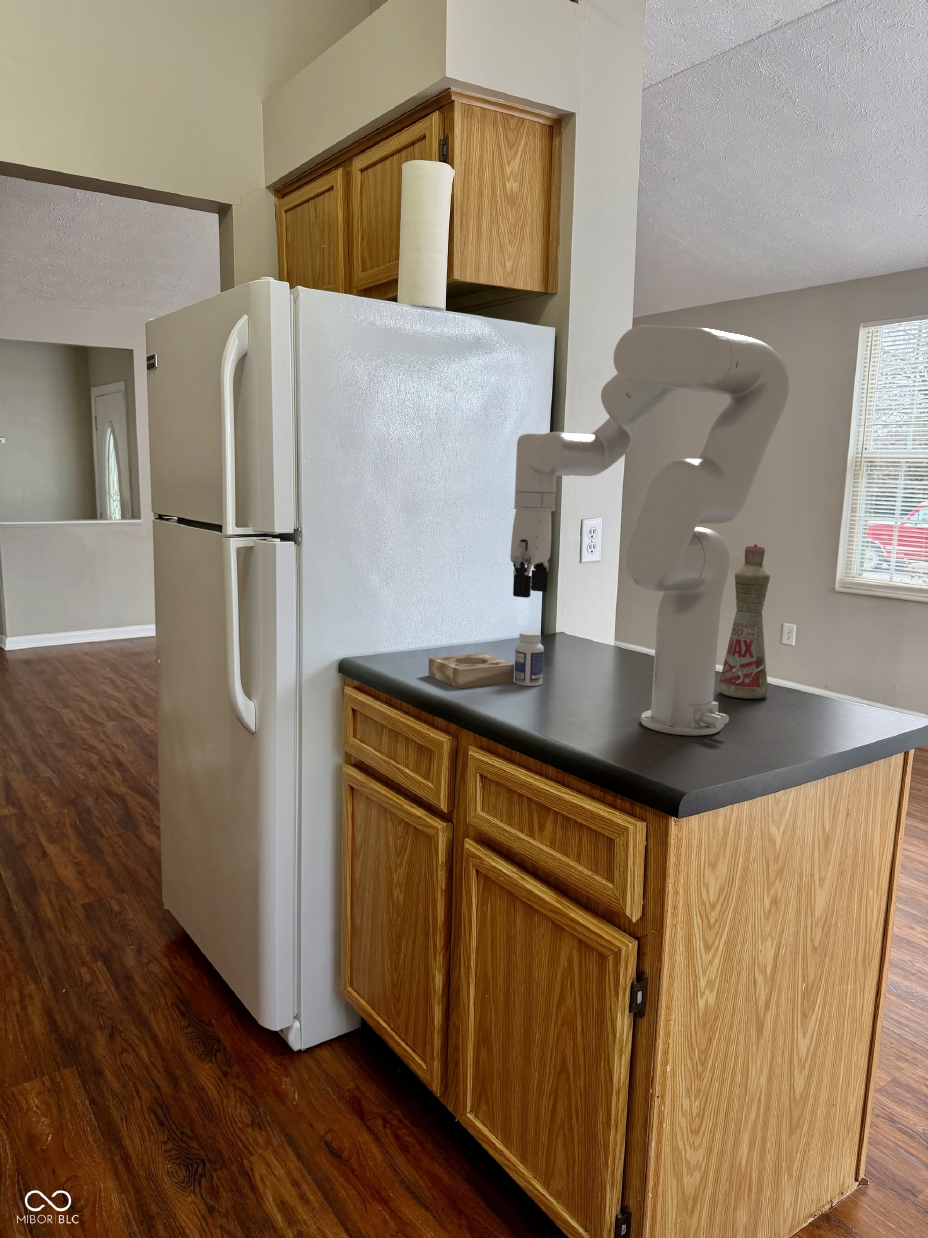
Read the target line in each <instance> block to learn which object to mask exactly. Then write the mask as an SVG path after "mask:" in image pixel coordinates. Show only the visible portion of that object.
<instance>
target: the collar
mask: <svg viewBox="0 0 928 1238" xmlns="http://www.w3.org/2000/svg"><path fill="white" fill-rule="evenodd" d="M427 670H428V676H429V677H432V678H433V679H437V680H439V681H441V682H444V683H446V684H449V685H450V686H454V687H456V688H457V689H458V688H459V689H465V688H474V687H483V686H489V685H490V686H491V685H499V684H511V683H515V681H514V680H515V678H514V677H515V663H513V662H509V661H506V660H504V659H500V658H498V657H494V656H491V655H488V654H485V653H481V652H477V653H465V654H454V655H442V656H434V657H428V669H427Z"/></svg>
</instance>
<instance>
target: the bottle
mask: <svg viewBox="0 0 928 1238" xmlns="http://www.w3.org/2000/svg"><path fill="white" fill-rule="evenodd" d="M765 553H766V549H765V547H764V546H758V544H757V543H754V544H753V545H747V546H746V547H745V548H744V564H742V565H741V566H740V567H739V568H738V569H737V570H736V571H735V573H734V582H735V583H734V584H735V587H734V588H735V600H736V601H735V603H736V611H735V614H734V619H733V623H732V628H731V632H730V637H729V641H728V645H727V648H726V653H725V657H724V661H723V664H722V665H723V666H722V671H721V674H720V677H719V678H720V679H719V683H718V688H719V691H720V692H721V694H722V695H723V696H727V697H732V698H738V699H745V700H751V699H752V700H755V699H756V700H760V699H764V698H766V697H767V696H768V693H769V682H768V676H767V675H768V674H767V663H766V650H765V649H766V648H765V636H764V635H765V634H764V622H763V621H764V619H763V611H764V610H763V609H764V605H765V601H766V596H767V592H768V588H769V586H768V585H769V584H770V580H771V574H770V572H769V571H768V570H767V569H766V568H765V567H764V566H765V565H764V559H765Z"/></svg>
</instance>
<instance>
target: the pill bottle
mask: <svg viewBox="0 0 928 1238" xmlns="http://www.w3.org/2000/svg"><path fill="white" fill-rule="evenodd" d="M541 634H542V633H540V632H537V631H521V632H519V638H518V639H519V641H520V642H519V643H517V644H516V645H515V647H514V649H515V650H514V654H515V655H514V684H517V685H518V686H522V687H523V686H524V687H536V686H537V687H538V686H541V685H542V684H543V680H544V679H543V676H544V652H545V651H544V650H545V649H544V645H542V644H541V643H540V641H541V636H542V635H541Z"/></svg>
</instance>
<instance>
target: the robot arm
mask: <svg viewBox="0 0 928 1238" xmlns="http://www.w3.org/2000/svg"><path fill="white" fill-rule="evenodd" d="M613 366H614V369H615V370H616V374H615V375H614V376H612V378H610V379H609V380H608V381H607V382H606V383H605V384H604V386H603V387H602V388H601V389H602V390H601V391H600V392H601V393H600V399H601V404H602V407H603V408H604V410H605V412H606V413H607V415H608V416H609V417H608V418H607V420H606V421H604V422H603V423H602V424H601V425H600V426H599V427H597V429H595V430H594V431H593V432H592V433H585V432H569V431H568V432H567V431H552V432H547V433H525V434H524V433H523V434H521V435H520V436H519V437H518V438H517V442H516V459H515V461H516V462H515V480H514V481H515V485H514V507H513V508H514V510H515V511H514V512H515V513H514V518H513V524H512V532H511V541H510V543H511V544H510V545H511V546H510V554H509V556H510V557H509V558H510V560H509V561H511V563H512V566H513V584H512V585H513V586H512V589H513V590H512V596H513V597H515V598H525V599H526V598H527V599H528V598H530V597H531V592H542V593H543V592H544V593H547V591H548V588H549V586H548V584H549V583H548V582H549V570H550V564H549V561H550V558H551V551H552V550H551V548H552V512H555V511H556V496H557V495H556V492H557V477H558V476H567V477H568V476H577V477H592V476H593V477H594V476H596V475H599V474H601V473H603V472H605V471H607V470H608V469H610V467H612V466H613V465H614V464H615V463H616V462H618V461H619V460H620V459H621V458H623V457H624V456H625V455H626V454H627V453H628V452H629V450H630V449H631V448H632V445H633V444H634V442H635V439H636V437H637V435H638V431H639V424H640V423H642V422H643V421H644V420H645V419H646V418H647V417H649V416H650V415H651V414H652V413H653V412H654V411H655V410H657V408H659V407H660V406H661V405H663V403H664V402H666V401H667V400H668V399H670V397H672V396H673V395H674V394H675V393H677V392H678V390H687V391H691V392H700V393H701V392H702V393H709V394H716V395H724V396H725V395H726V396H728V397H729V402H728V404H727V406H725V408H723V410H722V411H721V412H720V414H718V416H717V417H716V418H715V420H714V422H713V423H712V426H711V428H710V430H709V431H708V434H707V439H706V441H705V444H704V445H703V448H702V449H701V450H702V451H701V453H700V455H699V456H698V458H680V459H675V460H673V461H670V462H668V463H667V464H665V465H664V466H663V467H662V468H661V469H660V470H658V472H657V473H656V475H655V476H654V478H653V479H652V480H651V483H650V484H649V485H650V486H649V487H648V490H647V493H646V496H645V498H644V501H643V503H642V507H641V509H640V512H639V515H638V518H637V520H636V523H635V526H634V529H633V532H632V534H631V538H630V540H629V544H628V547H627V552H626V553H627V554H626V569H627V572H628V575H629V577H630V579H631V580H632V582H633V583H634V584H635V585H636V586H637V587H639V588H640V589H642V590H645V591H648V592H663V594H662V597H661V599H660V602H659V605H658V609H657V616H656V626H655V627H656V628H655V629H656V630H655V645H654V661H653V675H652V677H653V678H652V689H651V690H652V692H651V709H650V710H646V711H644V712H642V714H641V715H640V723H641V724H642V725H643V726H644V727H646V728H648V729H651V730H653V731H655V732H656V731H657V732H660V733H663V734H664V733H665V734H669V735H670V734H672V735H677V736H678V735H679V736H709V735H712V734H714V735H715V734H716V733H718V732H720V731H721V730H722V729H723V728H724V726H725V724H726V725H727V724H728V722H729V721H730V717H729V715H728V714H725V713H721V712H719V702H718V701H714V697H715V695H714V693H715V685H716V684H715V682H716V669H717V668H716V667H717V655H718V654H717V653H718V639H719V631H720V618H721V617H720V616H721V609H722V599H723V595H724V590H725V586H726V584H727V583H726V582H727V579H728V575H729V572H730V571H729V570H730V565H731V563H730V561H731V557H730V555H731V554H730V549H729V547H728V544H727V543H726V541H725V539H724V538H723V537H722V536H721V535H720V534H719V533H718V532H716V531H715V530H712V529H709V528H705V527H703V526H702V527H700V526H698V525H715V524H716V525H717V524H725V523H728V522H730V521H733V520H734V519H736V518H737V517H738V515H739V514H741V512H742V510H743V509H744V506H745V504H746V501H747V498H748V496H749V494H750V491H751V489H752V486H753V483H754V481H755V479H756V477H757V475H758V471H759V469H760V466H761V464H762V461H763V458H764V456H765V453H766V449H767V447H768V446H769V443H770V440H771V438H772V436H773V434H774V432H775V430H776V427H777V425H778V423H779V421H780V419H781V417H782V416H783V415H782V414H783V412H784V410H785V407H786V405H787V401H788V396H789V393H790V379H789V372H788V368H787V367H786V364H785V362H784V361H783V359H782V357H781V356H780V354H779V353H778V352H777V351H776V350H775V349H774V348H773V347H772V346H771V345H769V344H767V343H765V342H763V341H761V340H758V339H755V338H753V337H749V336H746V335H741V334H737V333H730V332H725V331H721V330H717V329H710V328H704V327H693V326H692V327H691V326H687V327H686V326H672V325H671V326H669V325H667V326H666V325H654V324H653V325H652V324H639V325H636V326H634V327H632V328H630V329H628V330H627V331H626V332H625V333H624V334H623V335H622V336H621V337H620V339H618V341H617V343H616V345H615V348H614V351H613ZM532 567H533V569H532ZM530 574H531V575H530Z"/></svg>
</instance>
